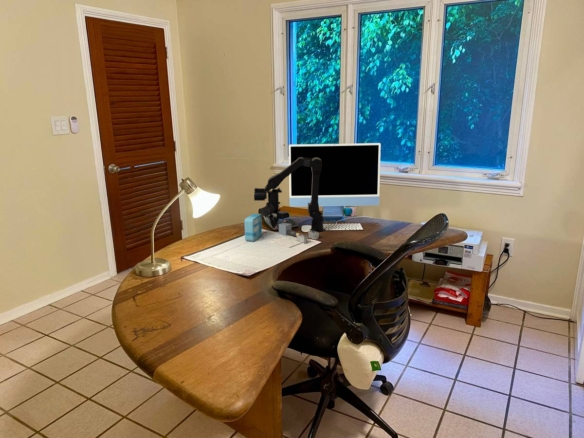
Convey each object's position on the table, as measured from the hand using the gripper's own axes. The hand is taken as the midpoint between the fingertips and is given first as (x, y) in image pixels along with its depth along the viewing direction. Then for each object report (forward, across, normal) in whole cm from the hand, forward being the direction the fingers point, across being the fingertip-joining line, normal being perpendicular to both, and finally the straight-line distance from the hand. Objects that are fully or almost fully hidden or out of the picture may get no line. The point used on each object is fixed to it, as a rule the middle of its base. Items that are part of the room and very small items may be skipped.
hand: (273, 228), depth 237 cm
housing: (+2, +24, 0) cm, 25 cm away
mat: (+2, +18, -10) cm, 21 cm away
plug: (+1, +12, 0) cm, 12 cm away
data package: (+2, +2, -16) cm, 17 cm away
